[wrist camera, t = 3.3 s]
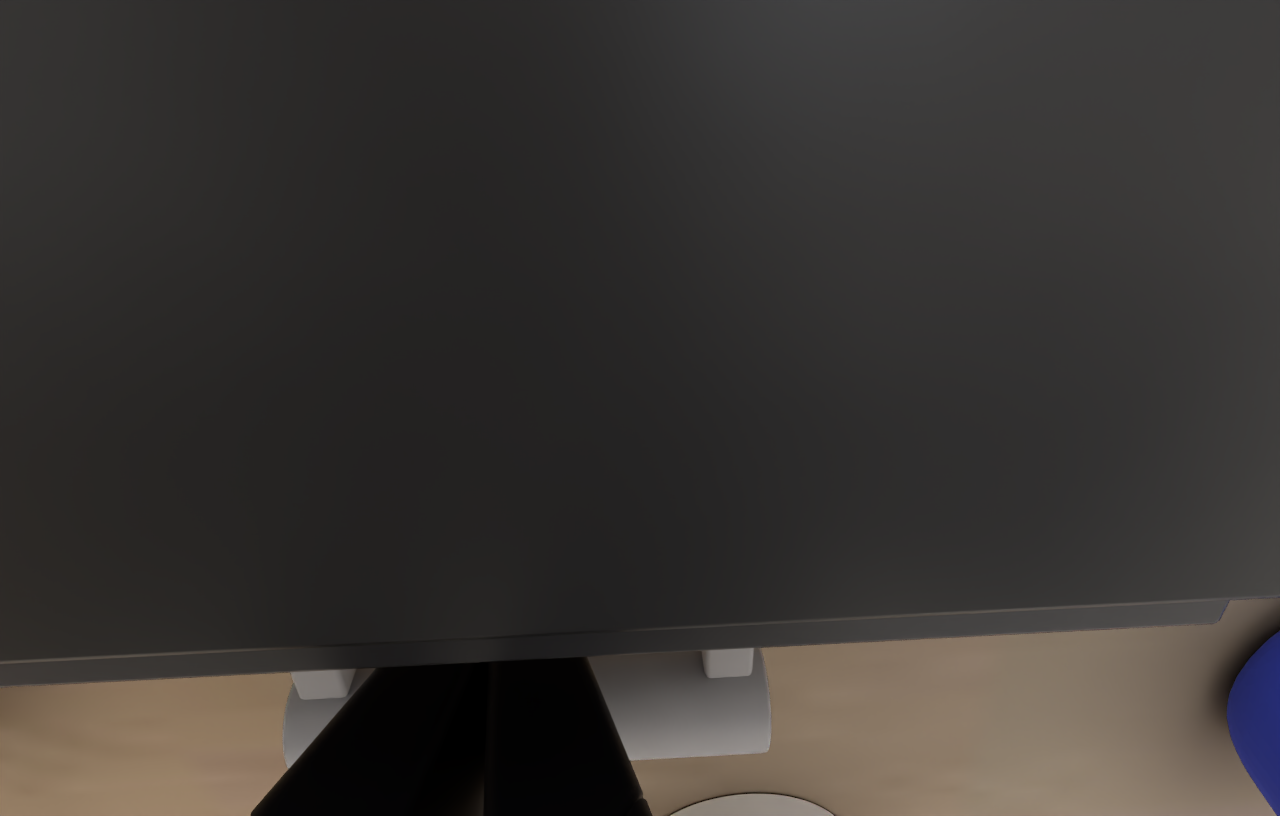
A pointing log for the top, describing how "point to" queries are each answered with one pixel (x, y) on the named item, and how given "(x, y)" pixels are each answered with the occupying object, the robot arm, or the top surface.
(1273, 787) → the mug
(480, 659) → the drawer
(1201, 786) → the top surface
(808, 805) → the cup
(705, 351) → the dark grey lidded case
